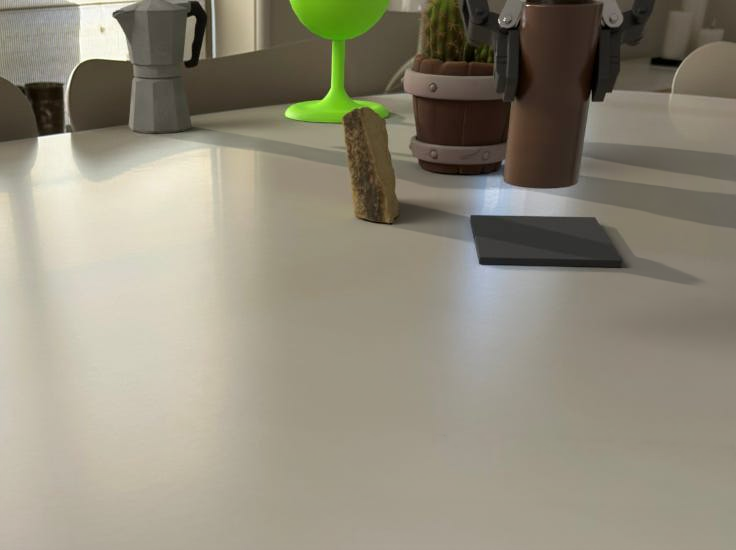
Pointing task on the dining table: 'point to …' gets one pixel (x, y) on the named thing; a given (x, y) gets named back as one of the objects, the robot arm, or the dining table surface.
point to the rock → (370, 166)
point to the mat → (542, 241)
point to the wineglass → (336, 52)
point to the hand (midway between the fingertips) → (555, 92)
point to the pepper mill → (552, 92)
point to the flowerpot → (455, 98)
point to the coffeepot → (160, 62)
